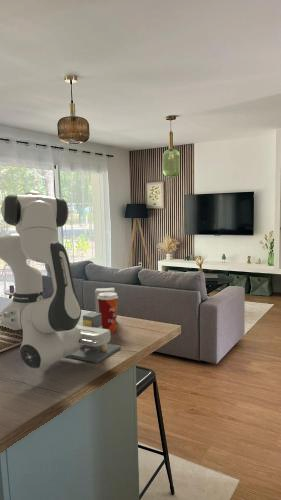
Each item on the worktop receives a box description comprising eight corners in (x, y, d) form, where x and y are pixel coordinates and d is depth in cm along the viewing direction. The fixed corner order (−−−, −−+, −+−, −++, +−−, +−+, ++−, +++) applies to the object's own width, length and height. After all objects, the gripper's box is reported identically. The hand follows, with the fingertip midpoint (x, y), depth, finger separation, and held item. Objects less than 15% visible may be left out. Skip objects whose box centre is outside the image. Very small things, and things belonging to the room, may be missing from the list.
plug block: (82, 348, 121) (81, 316, 120) (92, 343, 126) (91, 312, 125) (92, 350, 119) (91, 317, 118) (102, 345, 124) (101, 313, 123)
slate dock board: (64, 356, 120) (63, 345, 120) (89, 342, 132) (89, 333, 132) (97, 363, 114) (96, 352, 113) (120, 348, 126) (120, 338, 126)
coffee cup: (115, 334, 141) (114, 296, 140) (95, 333, 143) (94, 295, 141) (121, 328, 149) (120, 292, 148) (101, 327, 151) (101, 291, 150)
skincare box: (116, 320, 160) (116, 287, 159) (115, 324, 154) (114, 290, 153) (97, 320, 160) (96, 287, 159) (95, 324, 154) (94, 290, 153)
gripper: (95, 333, 106) (120, 321, 118) (42, 324, 115) (69, 314, 127) (96, 354, 106) (120, 340, 118) (42, 344, 116) (70, 331, 128)
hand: (93, 326), depth 123 cm, fingers closed on plug block, 4 cm apart
